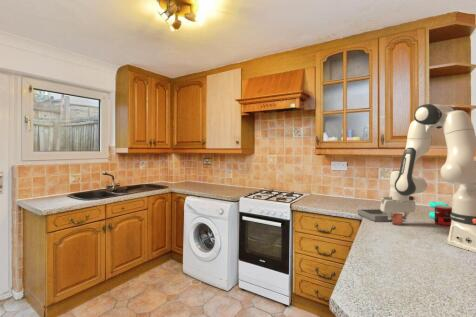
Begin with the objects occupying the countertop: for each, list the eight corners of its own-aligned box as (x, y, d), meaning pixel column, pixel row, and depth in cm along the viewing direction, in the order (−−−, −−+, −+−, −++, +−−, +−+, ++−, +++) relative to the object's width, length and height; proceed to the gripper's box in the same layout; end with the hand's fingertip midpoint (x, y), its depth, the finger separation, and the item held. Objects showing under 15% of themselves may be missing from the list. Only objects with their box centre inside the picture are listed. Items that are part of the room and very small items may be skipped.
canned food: (435, 221, 157) (435, 204, 156) (452, 224, 151) (452, 206, 151) (433, 224, 151) (433, 205, 151) (450, 227, 146) (451, 208, 145)
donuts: (452, 204, 162) (438, 204, 161) (452, 219, 162) (438, 220, 161) (439, 201, 172) (425, 201, 171) (438, 216, 172) (425, 216, 171)
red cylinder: (404, 225, 149) (404, 214, 149) (396, 225, 148) (396, 215, 148) (398, 222, 154) (398, 212, 154) (390, 222, 153) (390, 213, 153)
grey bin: (401, 221, 157) (401, 215, 157) (374, 221, 155) (374, 216, 155) (382, 214, 175) (382, 209, 175) (357, 214, 173) (357, 209, 173)
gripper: (385, 197, 147) (384, 221, 147) (417, 197, 149) (416, 220, 149) (378, 195, 153) (377, 218, 154) (409, 195, 155) (408, 217, 156)
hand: (397, 219), depth 152 cm, fingers open, 8 cm apart
